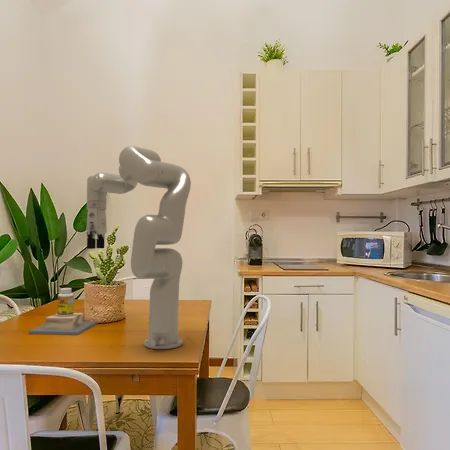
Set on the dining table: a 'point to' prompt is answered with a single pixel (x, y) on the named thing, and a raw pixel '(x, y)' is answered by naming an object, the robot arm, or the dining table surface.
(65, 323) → the riser block
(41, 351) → the dining table surface
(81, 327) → the grey flat square slab
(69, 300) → the supplement bottle
